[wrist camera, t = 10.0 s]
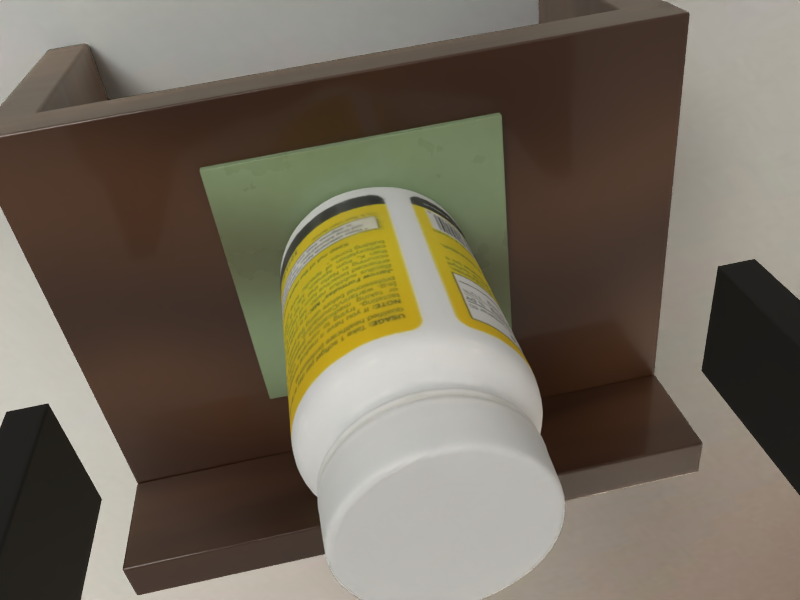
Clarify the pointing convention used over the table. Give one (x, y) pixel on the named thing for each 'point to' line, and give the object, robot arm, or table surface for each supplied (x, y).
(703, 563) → the table surface
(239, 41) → the table surface
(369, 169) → the shelf
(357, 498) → the supplement bottle
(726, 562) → the table surface
